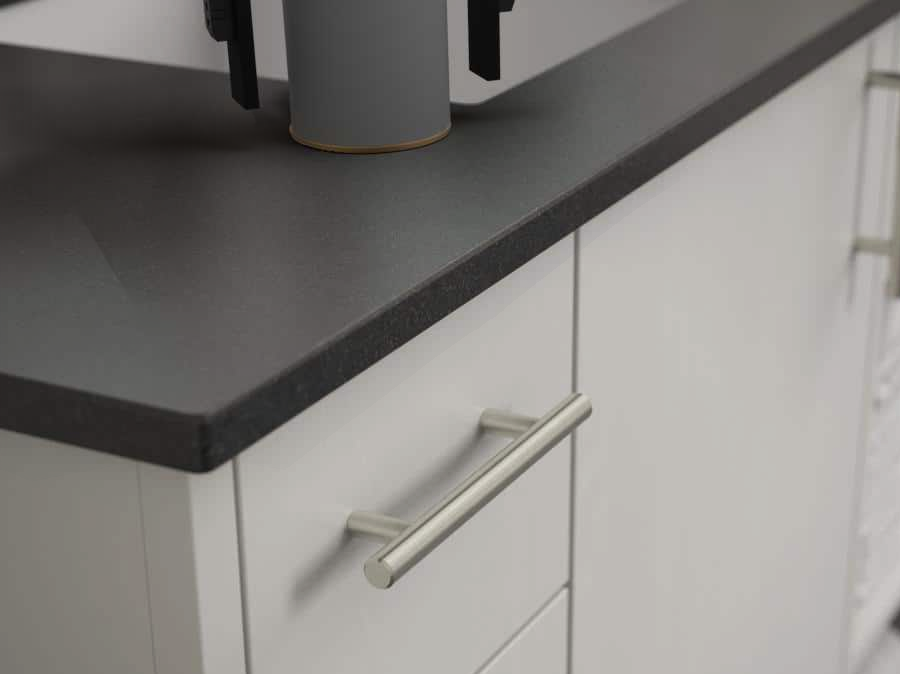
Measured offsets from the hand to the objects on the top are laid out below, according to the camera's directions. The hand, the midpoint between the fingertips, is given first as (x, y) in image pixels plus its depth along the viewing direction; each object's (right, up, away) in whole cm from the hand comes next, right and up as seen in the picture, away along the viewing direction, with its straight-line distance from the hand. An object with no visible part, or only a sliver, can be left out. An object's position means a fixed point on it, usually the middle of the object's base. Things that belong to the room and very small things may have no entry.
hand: (368, 89), depth 86 cm
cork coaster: (0, -2, +1) cm, 2 cm away
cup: (0, -2, +1) cm, 2 cm away
